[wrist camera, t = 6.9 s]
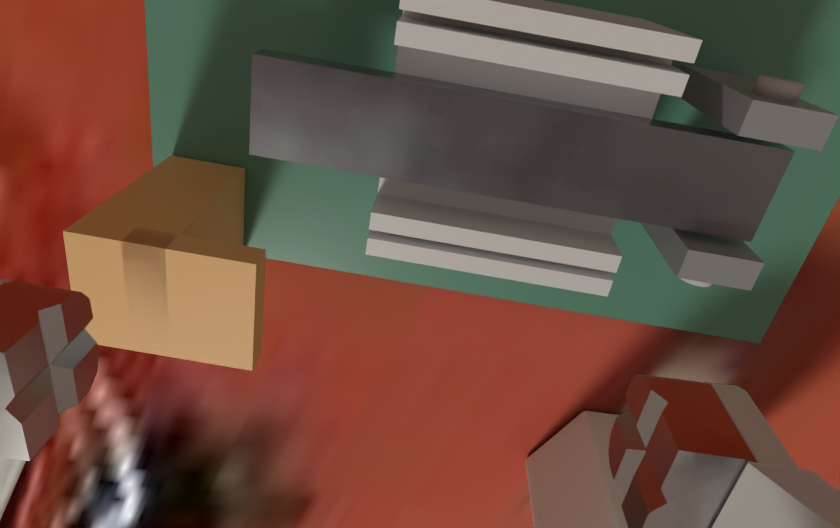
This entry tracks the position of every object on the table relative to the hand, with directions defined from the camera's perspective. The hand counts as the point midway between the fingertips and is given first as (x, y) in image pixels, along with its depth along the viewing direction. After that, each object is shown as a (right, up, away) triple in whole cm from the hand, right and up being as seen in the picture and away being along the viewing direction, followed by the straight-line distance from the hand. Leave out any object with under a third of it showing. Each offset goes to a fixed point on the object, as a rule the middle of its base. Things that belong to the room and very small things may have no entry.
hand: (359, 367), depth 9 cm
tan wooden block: (-7, +4, +16) cm, 17 cm away
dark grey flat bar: (+4, +5, +10) cm, 12 cm away
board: (+4, +8, +14) cm, 17 cm away
